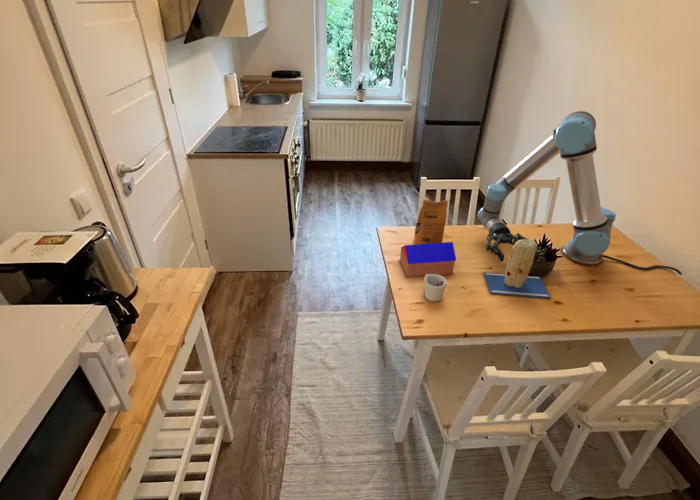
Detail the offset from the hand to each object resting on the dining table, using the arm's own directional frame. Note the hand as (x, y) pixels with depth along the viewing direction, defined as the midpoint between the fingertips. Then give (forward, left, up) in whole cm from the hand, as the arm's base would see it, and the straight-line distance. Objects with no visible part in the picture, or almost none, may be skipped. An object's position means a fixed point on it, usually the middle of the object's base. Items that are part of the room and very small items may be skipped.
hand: (520, 258), depth 147 cm
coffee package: (+32, -26, -12) cm, 43 cm away
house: (+34, -7, -12) cm, 37 cm away
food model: (0, +1, -12) cm, 12 cm away
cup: (+33, +11, -12) cm, 37 cm away
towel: (-1, +1, -12) cm, 12 cm away
